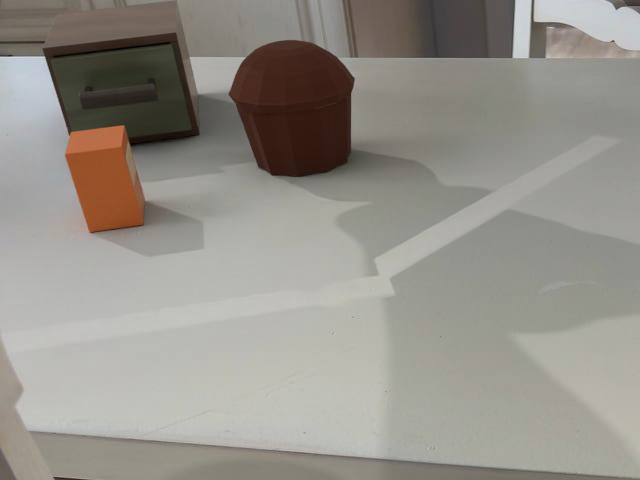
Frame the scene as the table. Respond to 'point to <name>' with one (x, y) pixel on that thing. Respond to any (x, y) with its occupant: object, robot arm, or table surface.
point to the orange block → (105, 178)
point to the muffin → (295, 107)
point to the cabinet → (125, 45)
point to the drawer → (123, 90)
